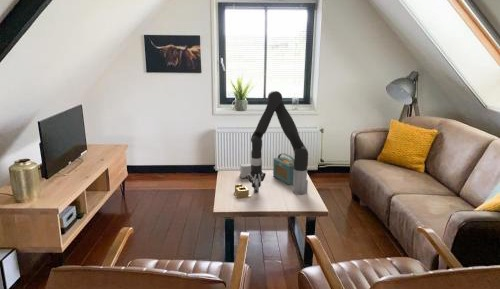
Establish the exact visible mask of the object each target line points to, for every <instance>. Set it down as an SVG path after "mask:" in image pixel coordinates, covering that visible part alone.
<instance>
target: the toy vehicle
mask: <svg viewBox="0 0 500 289" xmlns="http://www.w3.org/2000/svg"><path fill="white" fill-rule="evenodd" d="M239 167H240V171H239V172H240V174H239V177H240V178H241V179H242V178H243V179H248V177H247V174H250V173H251V162H250V163H240V165H239ZM261 177H262V174H261V176H260V178H261ZM250 178H252V175H251V177H250Z"/></svg>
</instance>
